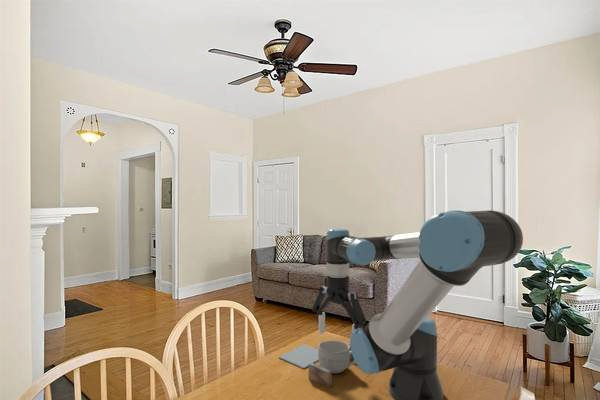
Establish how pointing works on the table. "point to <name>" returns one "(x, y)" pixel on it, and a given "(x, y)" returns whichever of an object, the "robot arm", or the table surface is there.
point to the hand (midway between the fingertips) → (337, 338)
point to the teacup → (334, 355)
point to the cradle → (322, 373)
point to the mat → (301, 356)
